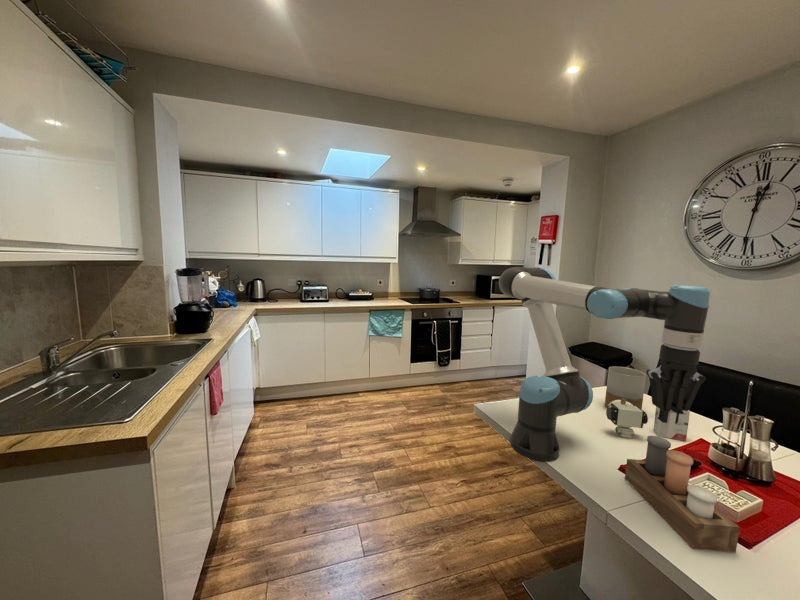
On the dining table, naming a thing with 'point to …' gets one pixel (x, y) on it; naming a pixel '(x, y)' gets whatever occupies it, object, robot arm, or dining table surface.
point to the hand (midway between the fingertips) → (665, 433)
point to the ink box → (679, 428)
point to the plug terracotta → (677, 472)
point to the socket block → (683, 512)
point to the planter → (625, 386)
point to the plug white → (701, 501)
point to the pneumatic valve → (626, 418)
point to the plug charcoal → (656, 456)
